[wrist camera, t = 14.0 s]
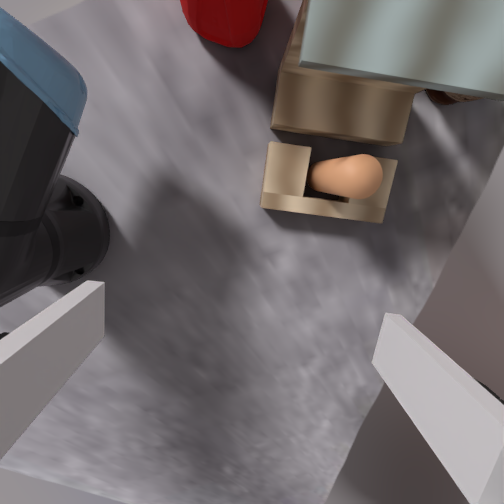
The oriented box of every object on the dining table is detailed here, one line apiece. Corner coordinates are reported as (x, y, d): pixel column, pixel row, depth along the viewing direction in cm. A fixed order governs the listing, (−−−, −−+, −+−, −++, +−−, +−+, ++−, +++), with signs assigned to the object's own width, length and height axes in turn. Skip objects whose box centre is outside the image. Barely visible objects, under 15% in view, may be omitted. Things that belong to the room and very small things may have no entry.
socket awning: (259, 204, 41) (274, 229, 22) (278, 69, 36) (317, -41, 18) (369, 219, 42) (471, 254, 23) (399, 89, 37) (555, 6, 19)
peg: (303, 189, 40) (335, 196, 27) (309, 159, 39) (344, 151, 26) (331, 192, 41) (376, 202, 27) (337, 163, 40) (387, 157, 26)
